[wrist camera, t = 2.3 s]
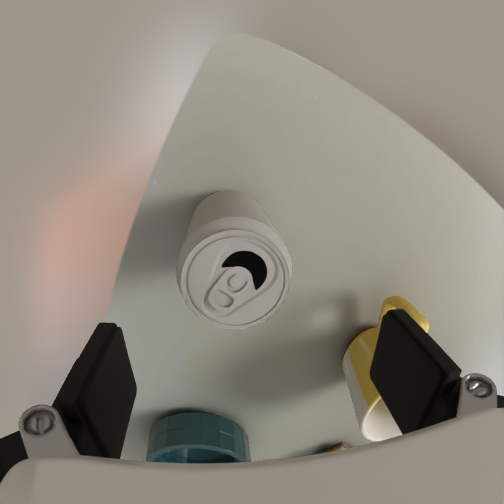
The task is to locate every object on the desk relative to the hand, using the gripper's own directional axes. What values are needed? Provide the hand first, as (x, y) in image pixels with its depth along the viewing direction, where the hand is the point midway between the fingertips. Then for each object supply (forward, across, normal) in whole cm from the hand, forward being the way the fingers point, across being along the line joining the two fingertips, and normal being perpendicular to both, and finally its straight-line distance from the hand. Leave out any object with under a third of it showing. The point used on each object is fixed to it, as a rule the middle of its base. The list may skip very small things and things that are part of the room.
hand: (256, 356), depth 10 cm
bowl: (+18, +6, +28) cm, 34 cm away
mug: (+18, -15, +13) cm, 27 cm away
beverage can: (+18, +1, 0) cm, 18 cm away
